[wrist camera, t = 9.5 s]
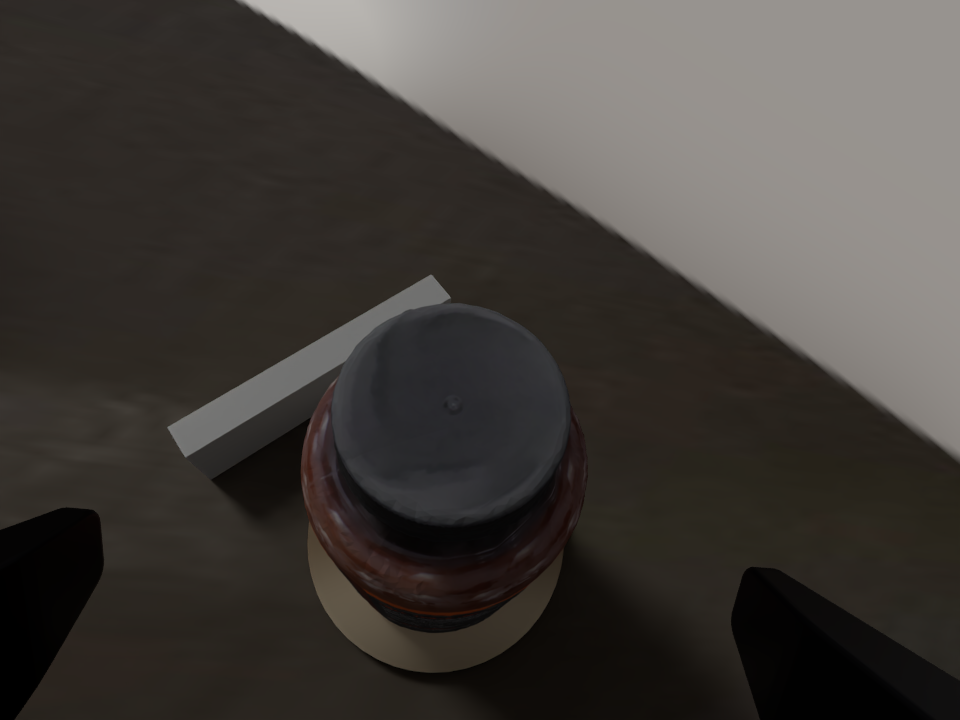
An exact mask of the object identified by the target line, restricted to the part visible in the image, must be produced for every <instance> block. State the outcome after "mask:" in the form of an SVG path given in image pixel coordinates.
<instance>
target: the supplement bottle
mask: <svg viewBox="0 0 960 720" xmlns="http://www.w3.org/2000/svg"><path fill="white" fill-rule="evenodd" d="M587 458H588V457H587V454H586V445H585V439H584V434H583V432H582V429H581V426H580V423H579V419H578V417H577V416H576V414H575V413H574V411H573V408H572V406H571V404H570V401H569V394H568V390H567V387H566V384H565V380H564V377H563V375H562V373H561V371H560V369H559V367H558V365H557V363H556V362H555V360H554V359H553V357H552V355H551V354H550V353H549V352H548V350H547V349H546V347H545V346H544V345H543V344H542V343H541V341H540V340H539V339H538V338H537V337H536V336H534V335H533V334H532V333H531V332H530V331H528V330H527V329H526V328H525V327H523V326H521V325H520V324H518V323H516V322H515V321H513V320H511V319H509V318H507V317H505V316H503V315H502V314H500V313H498V312H495V311H492V310H489V309H485V308H482V307H479V306H471V305H466V304H461V303H448V304H436V305H430V306H424V307H420V308H417V309H409V310H406V311H404V312H403V313H401V314H400V315H397V316H395V317H393V318H390V319H388V320H387V321H385V322H383V323H382V324H380V325H379V326H377V327H375V328H374V329H373V330H372V331H371V332H370V333H369V334H368V335H367V336H366V337H364V338H363V339H362V340H361V341H360V342H359V343H358V344H357V345H356V347H355V348H354V350H353V352H352V353H351V355H350V356H349V357H348V358H347V360H346V361H345V363H344V365H343V366H342V369H341V372H340V374H339V376H338V377H337V378H336V379H335V381H334V382H333V383H332V384H330V385H329V387H328V389H327V391H326V392H325V394H324V395H323V397H322V398H321V400H320V402H319V403H318V406H317V408H316V410H315V411H314V413H313V415H312V417H311V419H310V423H309V425H308V428H307V433H306V436H305V439H304V445H303V451H302V459H301V484H302V491H303V497H304V502H305V507H306V511H307V514H308V518H309V521H310V524H311V526H312V529H313V531H314V533H315V535H316V537H317V539H318V540H319V542H320V544H321V546H322V547H323V549H324V550H325V552H326V553H327V555H328V556H329V557H330V559H331V560H332V561H333V562H334V564H335V565H336V566H337V568H338V569H339V570H340V571H341V573H342V574H343V575H344V576H345V577H346V578H347V580H348V581H349V582H350V583H351V584H352V586H353V587H354V588H355V589H356V591H357V592H358V593H359V594H360V595H361V596H362V597H363V598H364V599H365V600H366V601H367V602H368V603H369V604H370V605H371V606H372V607H373V608H374V609H375V610H376V611H377V612H379V613H380V614H381V615H382V616H383V617H385V618H386V619H387V620H389V621H390V622H392V623H394V624H396V625H398V626H400V627H404V628H407V629H410V630H414V631H420V632H426V633H445V632H453V631H458V630H461V629H464V628H468V627H470V626H473V625H476V624H478V623H480V622H482V621H484V620H485V619H487V618H488V617H490V616H491V615H493V614H494V613H495V612H497V611H498V610H499V609H500V608H501V607H503V606H504V605H505V604H506V603H508V602H509V601H510V600H511V599H513V598H515V597H516V596H517V595H519V594H520V593H521V592H522V591H523V590H524V589H526V588H527V587H528V586H529V585H530V584H531V583H532V582H533V581H534V580H535V579H537V578H538V577H539V576H540V575H541V574H542V573H543V572H544V571H545V570H546V569H547V568H548V567H549V566H550V565H551V564H552V563H553V561H554V560H555V559H556V558H557V556H558V555H559V554H560V552H561V551H562V550H563V548H564V546H565V545H566V543H567V541H568V540H569V538H570V537H571V535H572V533H573V530H574V529H575V527H576V525H577V522H578V519H579V517H580V513H581V510H582V506H583V502H584V496H585V490H586V483H587V478H588V474H587V469H588V465H587Z"/></svg>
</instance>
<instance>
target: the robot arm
mask: <svg viewBox="0 0 960 720" xmlns="http://www.w3.org/2000/svg"><path fill="white" fill-rule="evenodd" d="M103 566H104V555H103V544H102V533H101V522H100V517H99V515H98V514H97V513H96V512H95V511H94V510H90V509H79V508H67V507H66V508H60V509H57V510H54V511H52V512H49V513H46V514H43V515H41V516H38V517H35V518H32V519H30V520H27V521H24V522H21V523H19V524H16V525H13V526H10V527H7V528H5V529H2V530H0V720H14V719H15V718H16V717H17V715H18V714H19V712H20V711H21V710H22V708H23V707H24V705H25V704H26V702H27V701H28V700H29V698H30V697H31V695H32V694H33V692H34V691H35V689H36V688H37V686H38V685H39V683H40V681H41V680H42V678H43V677H44V675H45V673H46V672H47V670H48V669H49V667H50V665H51V663H52V662H53V660H54V658H55V656H56V655H57V653H58V651H59V649H60V648H61V646H62V644H63V643H64V641H65V639H66V637H67V636H68V634H69V632H70V630H71V629H72V627H73V625H74V624H75V622H76V620H77V618H78V617H79V615H80V613H81V611H82V610H83V608H84V606H85V604H86V603H87V601H88V599H89V598H90V596H91V594H92V592H93V591H94V589H95V587H96V585H97V584H98V582H99V580H100V577H101V575H102V572H103ZM731 626H732V632H733V635H734V639H735V642H736V645H737V648H738V651H739V654H740V657H741V661H742V664H743V667H744V670H745V673H746V676H747V680H748V683H749V686H750V689H751V692H752V695H753V699H754V702H755V705H756V708H757V711H758V714H759V718H760V720H960V681H959V680H958V679H956V678H954V677H953V676H951V675H949V674H948V673H946V672H945V671H943V670H941V669H940V668H938V667H936V666H935V665H933V664H931V663H930V662H928V661H927V660H925V659H923V658H922V657H920V656H918V655H917V654H915V653H914V652H912V651H910V650H909V649H907V648H905V647H904V646H902V645H901V644H899V643H897V642H896V641H894V640H892V639H891V638H889V637H888V636H886V635H884V634H883V633H881V632H879V631H878V630H876V629H874V628H873V627H871V626H870V625H868V624H866V623H865V622H863V621H861V620H860V619H858V618H857V617H855V616H853V615H852V614H850V613H848V612H847V611H845V610H844V609H842V608H840V607H839V606H837V605H835V604H834V603H832V602H830V601H829V600H827V599H826V598H824V597H822V596H821V595H819V594H817V593H816V592H814V591H813V590H811V589H809V588H808V587H806V586H804V585H803V584H801V583H800V582H798V581H796V580H795V579H793V578H791V577H790V576H788V575H787V574H785V573H783V572H782V571H780V570H777V569H773V568H761V567H750V568H748V569H746V571H745V572H744V574H743V576H742V579H741V583H740V586H739V590H738V593H737V597H736V600H735V604H734V607H733V611H732V616H731Z"/></svg>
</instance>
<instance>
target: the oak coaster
mask: <svg viewBox="0 0 960 720" xmlns="http://www.w3.org/2000/svg"><path fill="white" fill-rule="evenodd" d="M307 543H308V560H309V566H310V571H311V576H312V580H313V583H314V586H315V589H316V592H317V594H318V597H319V599H320V601H321V603H322V605H323V607H324V609H325V611H326V612H327V613H328V615H329V616H330V618H331V619H332V621H333V622H334V624H335V625H336V626H337V627H338V628H339V630H340V631H341V632H342V633H343V634H344V635H345V636H346V637H347V638H348V639H349V640H350V641H351V642H353V643H354V644H355V645H356V646H357V647H359V648H360V649H361V650H362V651H364V652H366V653H368V654H369V655H371V656H373V657H374V658H376V659H378V660H380V661H382V662H385V663H387V664H390V665H392V666H394V667H398V668H402V669H406V670H410V671H417V672H428V673H437V672H451V671H456V670H461V669H466V668H470V667H472V666H475V665H478V664H481V663H484V662H486V661H488V660H490V659H492V658H494V657H495V656H497V655H499V654H501V653H502V652H504V651H505V650H507V649H508V648H509V647H511V646H512V645H514V644H515V643H516V642H517V641H518V640H519V639H520V638H521V637H523V636H524V635H525V634H526V633H527V632H528V631H529V630H530V628H531V627H532V626H533V625H534V623H535V622H536V621H537V620H538V618H539V617H540V616H541V614H542V612H543V611H544V609H545V607H546V606H547V604H548V602H549V600H550V598H551V596H552V594H553V591H554V589H555V587H556V584H557V580H558V577H559V573H560V570H561V565H562V558H563V552H564V548H563V550H562V551H561V552H560V554H559V555H558V556H557V558H556V559H555V560H554V561H553V563H552V564H551V565H550V566H549V567H548V568H547V569H546V570H545V571H544V572H543V573H542V574H541V575H540V576H539V577H538V578H537V579H535V580H534V581H533V582H532V583H531V584H530V585H529V586H528V587H527V588H526V589H524V590H523V591H522V592H521V593H520V594H519V595H517V596H516V597H515V598H513V599H511V600H510V601H509V602H508V603H506V604H505V605H504V606H503V607H501V608H500V609H499V610H498V611H497V612H495V613H494V614H493V615H491V616H490V617H488V618H487V619H485V620H484V621H482V622H480V623H478V624H476V625H473V626H470V627H468V628H464V629H461V630H458V631H453V632H445V633H426V632H420V631H414V630H410V629H407V628H404V627H400V626H398V625H396V624H394V623H392V622H390V621H389V620H387V619H386V618H385V617H383V616H382V615H381V614H380V613H379V612H377V611H376V610H375V609H374V608H373V607H372V606H371V605H370V604H369V603H368V602H367V601H366V600H365V599H364V598H363V597H362V596H361V595H360V594H359V593H358V592H357V591H356V589H355V588H354V587H353V586H352V584H351V583H350V582H349V581H348V580H347V578H346V577H345V576H344V575H343V574H342V573H341V571H340V570H339V569H338V568H337V566H336V565H335V564H334V562H333V561H332V560H331V559H330V557H329V556H328V555H327V553H326V552H325V550H324V549H323V547H322V546H321V544H320V542H319V540H318V539H317V537H316V535H315V533H314V531H313V529H312V526H311V524H310V521H309V529H308V541H307Z"/></svg>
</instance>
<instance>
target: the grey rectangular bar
mask: <svg viewBox="0 0 960 720" xmlns="http://www.w3.org/2000/svg"><path fill="white" fill-rule="evenodd" d="M448 303H451V297H450V296H449V295H448V294H447V292H446V291H445V290H444V289H443V288H442V287H441V285H440V284H439V283H438V282H437V281H436V280H435V278H434V277H433V276H432V275H430V276H428V277H426V278H424V279H423V280H421V281H419V282H417V283H416V284H414V285H412V286H411V287H409V288H407V289H405V290H404V291H402V292H400V293H398V294H397V295H395V296H393V297H392V298H390V299H388V300H386V301H385V302H383V303H381V304H379V305H378V306H376V307H374V308H373V309H371V310H369V311H367V312H366V313H364V314H362V315H360V316H359V317H357V318H355V319H354V320H352V321H350V322H348V323H347V324H345V325H343V326H342V327H340V328H338V329H336V330H335V331H333V332H331V333H329V334H328V335H326V336H324V337H323V338H321V339H319V340H317V341H316V342H314V343H312V344H310V345H309V346H307V347H305V348H304V349H302V350H300V351H298V352H297V353H295V354H293V355H291V356H290V357H288V358H286V359H285V360H283V361H281V362H279V363H278V364H276V365H274V366H272V367H271V368H269V369H267V370H266V371H264V372H262V373H260V374H259V375H257V376H255V377H253V378H252V379H250V380H248V381H247V382H245V383H243V384H241V385H240V386H238V387H236V388H234V389H233V390H231V391H229V392H228V393H226V394H224V395H222V396H221V397H219V398H217V399H215V400H214V401H212V402H210V403H209V404H207V405H205V406H203V407H202V408H200V409H198V410H196V411H195V412H193V413H191V414H190V415H188V416H186V417H184V418H183V419H181V420H179V421H177V422H176V423H174V424H172V425H171V426H169V427H167V428H168V429H169V431H170V433H171V434H172V436H173V438H174V439H175V441H176V443H177V444H178V446H179V448H180V450H181V451H182V453H183V455H184V456H185V458H186V459H187V460H189V461H190V462H191V463H192V464H193V465H194V466H195V467H197V468H198V469H199V470H200V471H201V472H202V473H203V474H205V475H206V476H207V477H208V478H209V479H210V480H212V479H213V478H215V477H216V476H218V475H220V474H221V473H223V472H224V471H226V470H228V469H229V468H231V467H232V466H234V465H236V464H237V463H239V462H240V461H242V460H244V459H245V458H247V457H248V456H250V455H252V454H253V453H255V452H256V451H258V450H260V449H261V448H263V447H264V446H266V445H268V444H269V443H271V442H272V441H274V440H276V439H277V438H279V437H280V436H282V435H284V434H285V433H287V432H288V431H290V430H292V429H293V428H295V427H296V426H298V425H300V424H301V423H303V422H304V421H306V420H308V419H309V418H311V417H312V415H313V413H314V411H315V410H316V408H317V406H318V403H319V402H320V400H321V398H322V397H323V395H324V394H325V392H326V391H327V389H328V387H329V385H330V384H332V383H333V382H334V381H335V379H336V378H337V377H338V376H339V374H340V372H341V369H342V366H343V365H344V363H345V361H346V360H347V358H348V357H349V356H350V355H351V353H352V352H353V350H354V348H355V347H356V345H357V344H358V343H359V342H360V341H361V340H362V339H363V338H364V337H366V336H367V335H368V334H369V333H370V332H371V331H372V330H373V329H374V328H375V327H377V326H379V325H380V324H382V323H383V322H385V321H387V320H388V319H390V318H393V317H395V316H397V315H400V314H401V313H403V312H404V311H406V310H409V309H417V308H420V307H424V306H430V305H436V304H448Z"/></svg>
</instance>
